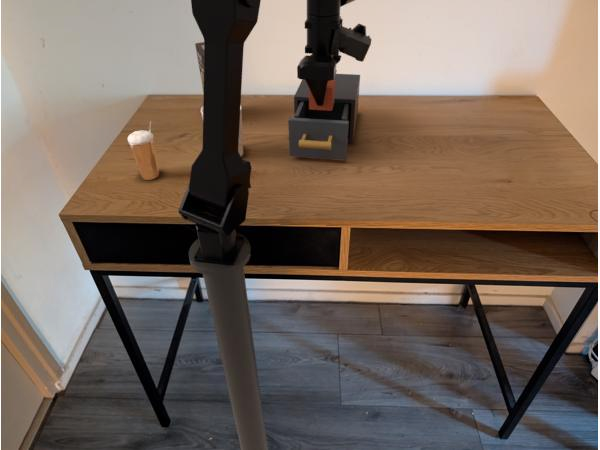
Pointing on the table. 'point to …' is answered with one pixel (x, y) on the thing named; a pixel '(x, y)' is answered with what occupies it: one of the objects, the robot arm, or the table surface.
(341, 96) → the cabinet
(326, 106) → the block
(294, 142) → the drawer
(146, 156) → the milkshake
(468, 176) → the table surface
